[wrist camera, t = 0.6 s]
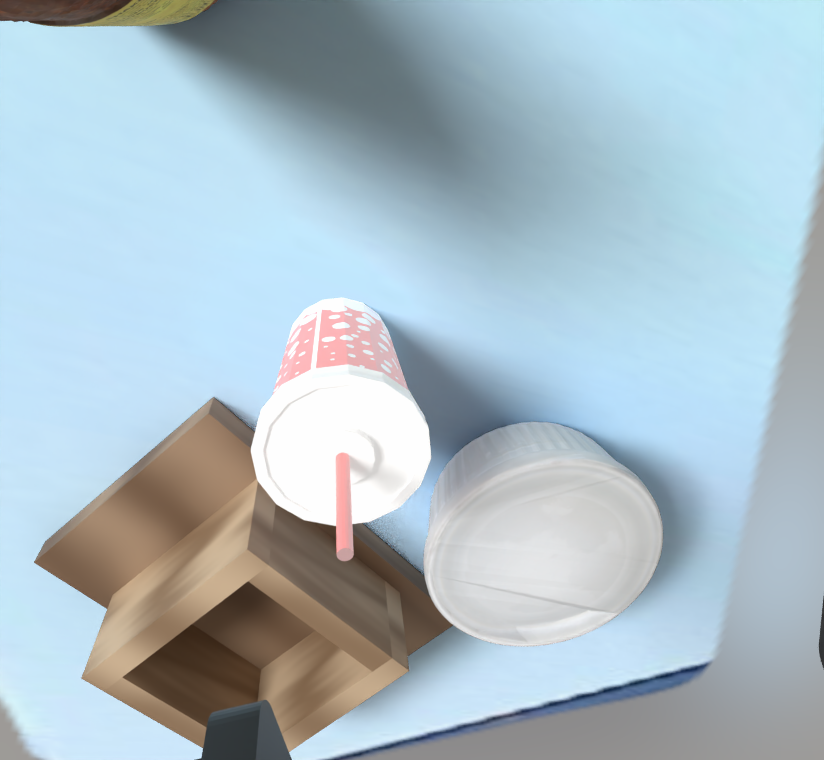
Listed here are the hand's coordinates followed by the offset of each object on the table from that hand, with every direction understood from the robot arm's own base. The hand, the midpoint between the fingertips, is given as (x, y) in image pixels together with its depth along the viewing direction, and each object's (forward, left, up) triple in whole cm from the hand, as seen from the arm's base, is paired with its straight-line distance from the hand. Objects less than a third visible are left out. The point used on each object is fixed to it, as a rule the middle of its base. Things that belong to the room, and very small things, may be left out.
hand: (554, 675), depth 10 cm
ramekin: (+5, +15, -23) cm, 27 cm away
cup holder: (+18, +9, -23) cm, 30 cm away
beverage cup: (+6, +2, -23) cm, 23 cm away
